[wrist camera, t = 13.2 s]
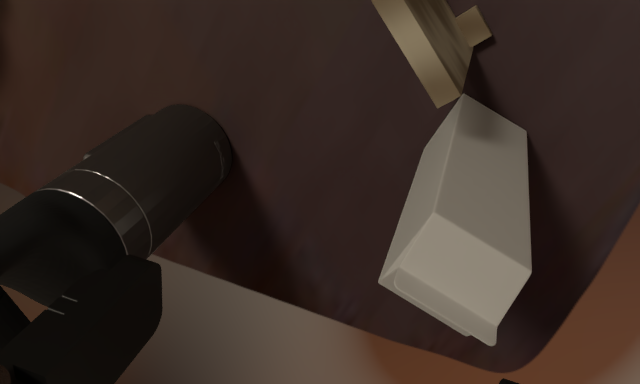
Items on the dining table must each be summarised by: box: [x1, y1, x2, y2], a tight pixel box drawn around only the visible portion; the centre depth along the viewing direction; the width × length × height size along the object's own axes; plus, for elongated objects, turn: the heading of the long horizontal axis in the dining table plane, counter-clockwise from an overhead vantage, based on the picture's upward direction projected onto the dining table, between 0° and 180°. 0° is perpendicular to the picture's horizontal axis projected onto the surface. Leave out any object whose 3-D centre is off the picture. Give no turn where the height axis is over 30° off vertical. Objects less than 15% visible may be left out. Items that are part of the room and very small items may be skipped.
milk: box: [378, 94, 532, 346], centre depth 36 cm, size 6×6×22 cm
